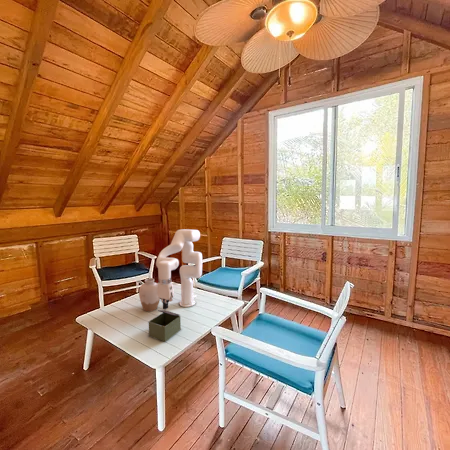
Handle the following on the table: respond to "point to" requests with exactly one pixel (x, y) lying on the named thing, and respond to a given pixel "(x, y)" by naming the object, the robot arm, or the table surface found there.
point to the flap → (168, 312)
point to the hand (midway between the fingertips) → (165, 308)
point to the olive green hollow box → (162, 332)
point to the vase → (149, 295)
